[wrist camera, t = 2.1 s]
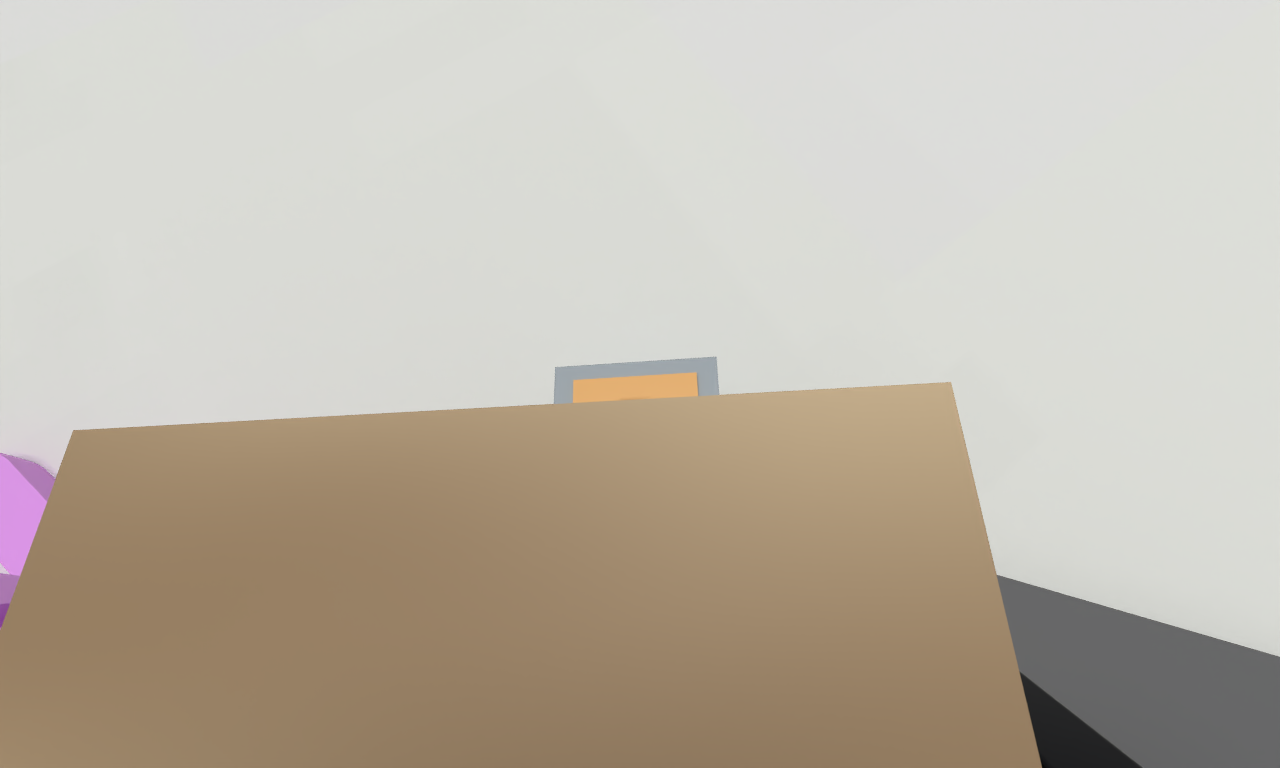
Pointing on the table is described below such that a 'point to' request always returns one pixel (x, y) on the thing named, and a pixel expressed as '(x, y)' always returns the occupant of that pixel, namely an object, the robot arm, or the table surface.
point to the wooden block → (521, 592)
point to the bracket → (19, 518)
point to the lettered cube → (636, 380)
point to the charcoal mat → (1148, 681)
